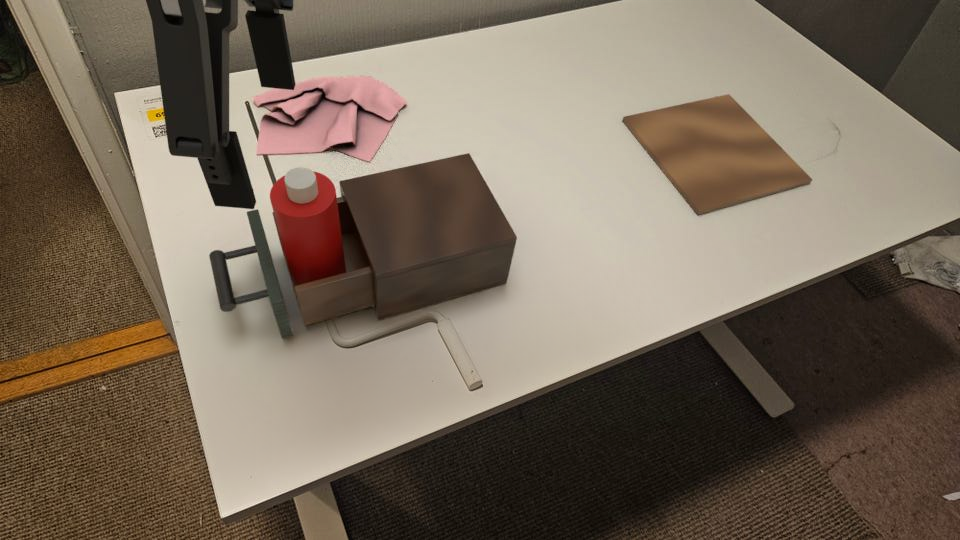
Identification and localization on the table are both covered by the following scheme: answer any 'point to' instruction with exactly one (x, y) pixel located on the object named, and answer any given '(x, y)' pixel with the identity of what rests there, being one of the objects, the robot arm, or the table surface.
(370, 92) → the cloth
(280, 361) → the table surface
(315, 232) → the red cylinder white end
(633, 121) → the brown wooden square board
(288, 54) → the robot arm
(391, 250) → the cabinet
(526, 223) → the table surface
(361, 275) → the drawer
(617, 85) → the table surface
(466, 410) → the table surface
